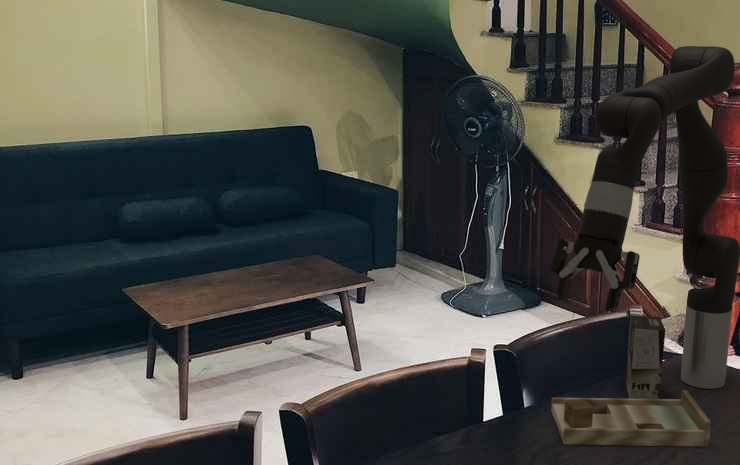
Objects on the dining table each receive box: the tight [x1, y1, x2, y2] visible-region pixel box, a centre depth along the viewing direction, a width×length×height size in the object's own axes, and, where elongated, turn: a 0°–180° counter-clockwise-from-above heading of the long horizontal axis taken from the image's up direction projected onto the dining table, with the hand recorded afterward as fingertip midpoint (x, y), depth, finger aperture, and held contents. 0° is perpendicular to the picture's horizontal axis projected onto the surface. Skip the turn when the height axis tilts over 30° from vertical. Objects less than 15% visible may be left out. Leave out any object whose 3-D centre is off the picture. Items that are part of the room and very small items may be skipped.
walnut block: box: [564, 399, 593, 428], centre depth 169 cm, size 4×4×4 cm
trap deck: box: [550, 389, 712, 448], centre depth 171 cm, size 27×15×5 cm, turn 88°
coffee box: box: [625, 315, 667, 399], centre depth 186 cm, size 9×6×16 cm
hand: (585, 306), depth 147 cm, fingers open, 8 cm apart
